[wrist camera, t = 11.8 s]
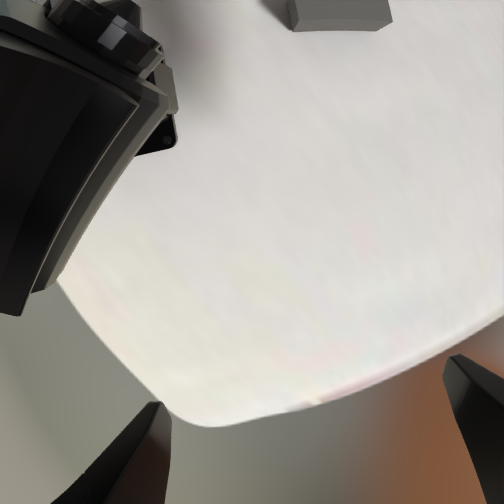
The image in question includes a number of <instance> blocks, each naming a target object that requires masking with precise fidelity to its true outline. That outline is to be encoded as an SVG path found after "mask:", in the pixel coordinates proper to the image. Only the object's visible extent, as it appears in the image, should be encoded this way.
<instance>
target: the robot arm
mask: <svg viewBox="0 0 504 504" xmlns="http://www.w3.org/2000/svg"><path fill="white" fill-rule="evenodd" d="M164 57H165V56H164V54H163V48H162V45H161V44H159V43H158V42H156V41H155V40H153V39H152V38H151V37H149V36H148V35H146V34H145V33H143V32H142V15H141V7H139V6H138V5H137V4H135V3H134V2H132V1H131V0H96V1H94V0H47V1H46V2H45V3H44V5H43V6H42V5H39V4H37V3H35V2H33V1H30V0H0V313H4V314H8V315H12V316H21V315H22V313H23V310H24V307H25V305H26V302H27V300H28V297H29V295H30V294H31V293H34V292H37V291H41V290H44V289H46V288H47V287H49V286H50V285H51V284H53V283H54V282H55V281H56V279H57V277H58V276H59V275H60V273H61V272H62V271H63V269H64V267H65V265H66V264H67V262H68V260H69V258H70V256H71V254H72V253H73V251H74V249H75V247H76V246H77V244H78V242H79V240H80V239H81V237H82V235H83V234H84V232H85V230H86V229H87V227H88V225H89V224H90V222H91V220H92V219H93V217H94V215H95V214H96V212H97V211H98V209H99V208H100V206H101V204H102V203H103V201H104V200H105V198H106V197H107V195H108V194H109V192H110V191H111V189H112V188H113V186H114V185H115V183H116V182H117V180H118V179H119V177H120V176H121V174H122V173H123V172H124V170H125V169H126V167H127V166H128V164H129V163H130V162H131V160H132V159H133V158H134V157H135V156H139V155H143V154H147V153H152V152H156V151H160V150H165V149H169V148H172V147H174V146H175V145H176V144H177V141H178V137H177V132H176V126H175V121H174V115H173V114H176V112H177V111H178V103H177V97H176V91H175V85H174V79H173V73H172V69H171V68H169V67H168V66H166V65H165V61H164ZM166 136H170V137H171V138H172V142H171V143H170V144H168V143H166V142H165V137H166ZM443 382H444V385H445V388H446V391H447V394H448V397H449V400H450V404H451V407H452V410H453V413H454V416H455V419H456V422H457V424H458V427H459V429H460V431H461V434H462V436H463V439H464V441H465V444H466V446H467V449H468V451H469V454H470V457H471V459H472V462H473V464H474V467H475V470H476V473H477V476H478V479H479V481H480V484H481V487H482V490H483V493H484V496H485V499H486V502H487V504H504V379H503V378H501V377H500V376H498V375H496V374H495V373H493V372H491V371H490V370H488V369H486V368H485V367H483V366H481V365H479V364H478V363H476V362H474V361H473V360H471V359H469V358H467V357H466V356H464V355H462V354H460V353H456V354H454V355H450V356H449V357H448V358H447V361H446V364H445V367H444V371H443ZM171 430H172V420H171V416H170V415H169V413H168V411H167V409H166V407H165V405H164V403H163V402H161V401H150V402H148V403H147V404H146V405H145V407H144V408H143V409H142V410H141V411H140V412H139V413H138V414H137V415H136V417H135V418H134V419H133V420H132V421H131V422H130V423H129V424H128V425H127V426H126V427H125V429H124V430H123V431H122V432H121V433H120V434H119V435H118V436H117V437H116V438H115V439H114V440H113V442H112V443H111V444H110V445H109V446H108V447H107V448H106V449H105V450H104V451H103V452H102V453H101V455H100V456H99V457H98V458H97V459H96V460H95V461H94V462H93V463H92V464H91V466H89V467H88V468H87V470H86V471H85V473H83V474H82V475H81V476H80V477H79V478H78V479H77V480H76V481H75V482H74V483H73V484H72V485H71V486H70V487H69V488H68V489H67V490H66V491H65V492H64V493H62V494H61V495H60V496H59V497H58V498H57V499H55V500H54V501H53V502H52V503H51V504H164V503H165V495H166V489H167V482H168V476H169V469H170V458H171Z"/></svg>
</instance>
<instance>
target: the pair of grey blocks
mask: <svg viewBox="0 0 504 504" xmlns="http://www.w3.org/2000/svg"><path fill="white" fill-rule="evenodd" d="M287 6H288V11H289V16H290V21H291V26H292V32H304V31H336V30H347V31H377V30H379V29H381V28H383V27H384V26H386V25H388V24H390V23H392V22H393V20H392V16H391V11H390V7H389V3H388V0H287Z"/></svg>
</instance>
